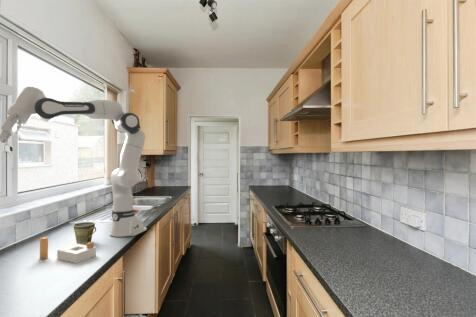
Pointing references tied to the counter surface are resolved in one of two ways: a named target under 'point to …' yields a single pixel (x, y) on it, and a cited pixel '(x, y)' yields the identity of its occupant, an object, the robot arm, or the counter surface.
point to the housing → (77, 252)
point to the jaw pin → (44, 248)
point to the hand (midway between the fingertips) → (1, 141)
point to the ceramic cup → (84, 232)
